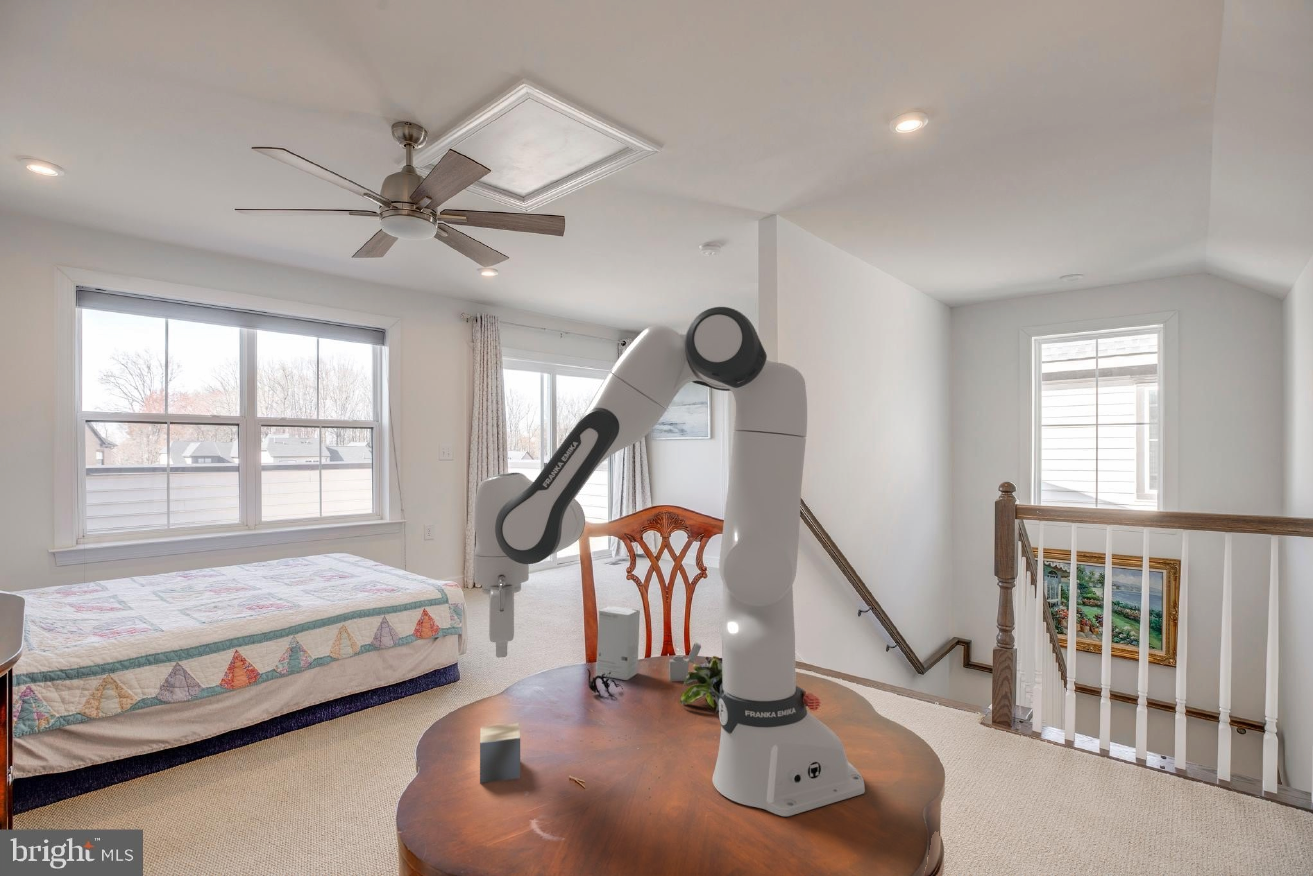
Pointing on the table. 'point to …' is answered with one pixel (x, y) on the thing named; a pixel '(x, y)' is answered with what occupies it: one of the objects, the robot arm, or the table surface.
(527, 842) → the table surface
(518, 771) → the maple cube
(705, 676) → the green leafy plant
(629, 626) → the skincare box
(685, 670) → the lighter
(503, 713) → the table surface
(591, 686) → the creature
